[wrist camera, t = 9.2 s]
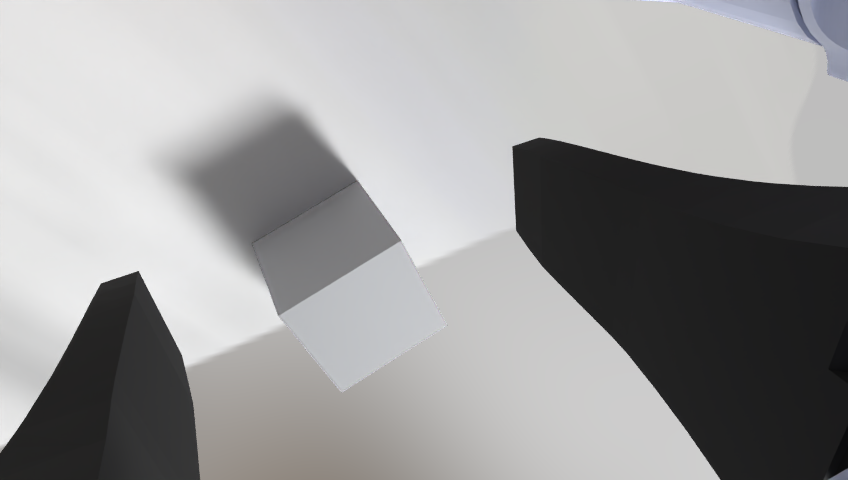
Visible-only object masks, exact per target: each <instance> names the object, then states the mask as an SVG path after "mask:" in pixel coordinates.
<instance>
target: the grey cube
mask: <svg viewBox="0 0 848 480" xmlns="http://www.w3.org/2000/svg"><path fill="white" fill-rule="evenodd" d="M252 245H253V247H254V250H255V253H256V256H257V258H258V261H259V264H260V267H261V270H262V272H263V275H264V278H265V281H266V283H267V286H268V289H269V292H270V294H271V297H272V300H273V303H274V305H275V308H276V311H277V314H278V316H279V317H280V319H281V320H282V321H283V322H284V323H285V325H286V326H287V327H288V328H289V330H290V331H291V332H292V333H293V334H294V336H295V337H296V338H297V339H298V340H299V342H300V343H301V344H302V345H303V347H304V348H305V349H306V350H307V351H308V352H309V354H310V355H311V356H312V357H313V359H314V360H315V361H316V362H317V363H318V365H319V366H320V367H321V368H322V370H323V371H324V372H325V373H326V375H327V376H328V377H329V378H330V379H331V380H332V382H333V383H334V384H335V386H336V387H337V388H338V389H339V390H340V392H343V391H345V390H346V389H348V388H349V387H351V386H353V385H354V384H356V383H357V382H359V381H361V380H362V379H364V378H365V377H367V376H369V375H370V374H372V373H373V372H375V371H377V370H378V369H380V368H381V367H383V366H384V365H386V364H388V363H389V362H391V361H392V360H394V359H395V358H397V357H399V356H400V355H402V354H403V353H405V352H406V351H408V350H410V349H411V348H413V347H414V346H416V345H418V344H419V343H421V342H422V341H424V340H425V339H427V338H429V337H430V336H432V335H433V334H435V333H436V332H438V331H440V330H441V329H443V328H444V327H446V326H448V325H447V323H446V321H445V319H444V318H443V316H442V314H441V312H440V310H439V308H438V307H437V305H436V303H435V302H434V299H433V298H432V296H431V294H430V292H429V290H428V289H427V287H426V285H425V283H424V281H423V279H422V277H421V276H420V274H419V272H418V270H417V268H416V266H415V265H414V263H413V261H412V259H411V257H410V255H409V254H408V252H407V250H406V248H405V246H404V244H403V243H402V241H401V239H400V238H399V237H398V235H397V234H396V232H395V231H394V230H393V228H392V227H391V226H390V224H389V223H388V221H387V220H386V219H385V217H384V216H383V215H382V213H381V212H380V210H379V209H378V208H377V206H376V205H375V204H374V202H373V201H372V199H371V198H370V197H369V195H368V194H367V193H366V191H365V190H364V189H363V187H362V186H361V184H360V183H359V182H358V181H356V182H354V183H353V184H351V185H349V186H348V187H346V188H344V189H343V190H341V191H339V192H338V193H336V194H334V195H333V196H331V197H329V198H328V199H326V200H324V201H323V202H321V203H319V204H318V205H316V206H314V207H312V208H311V209H309V210H307V211H306V212H304V213H302V214H301V215H299V216H297V217H296V218H294V219H292V220H291V221H289V222H287V223H286V224H284V225H282V226H281V227H279V228H277V229H276V230H274V231H272V232H271V233H269V234H267V235H266V236H264V237H262V238H261V239H259V240H257V241H256V242H254V243H252Z"/></svg>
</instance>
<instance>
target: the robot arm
mask: <svg viewBox="0 0 848 480" xmlns="http://www.w3.org/2000/svg"><path fill="white" fill-rule="evenodd" d="M643 1H662V2H678V3H681V4H685V5H688V6H691V7H695V8H698V9H701V10H705V11H708V12H711V13H714V14H718V15H721V16H724V17H728V18H731V19H734V20H738V21H741V22H744V23H747V24H751V25H754V26H757V27H761V28H764V29H767V30H771V31H774V32H777V33H780V34H784V35H787V36H790V37H794V38H797V39H800V40H804V41H807V42H810V43H813V44H817V45H820V46H823V47H824V49H825V52H826V54H827V60H828V64H827V73H828V75H830V76H833V77H835V78H839V79H841V80H844V81H847V82H848V0H643ZM513 169H514V191H515V214H516V231H517V232H518V234H519V235H520V236H521V238H522V239H523V241H524V242H525V244H526V245H527V247H528V248H529V249H530V251H531V252H532V253H533V255H534V256H535V257H536V258H537V260H538V261H539V263H540V264H541V265H542V266H543V267H544V269H545V270H546V271H547V272H548V273H549V274H550V275H551V276H552V277H553V278H554V279H555V280H556V281H557V282H558V283H559V284H560V285H561V286H562V287H563V288H564V289H565V290H566V291H567V292H568V293H569V294H570V295H571V296H572V297H573V298H574V299H575V300H576V301H577V302H578V303H579V304H580V305H581V306H582V307H583V308H584V309H585V310H586V311H587V312H588V313H589V314H590V315H591V316H592V317H593V318H594V319H595V320H596V321H597V322H598V323H599V324H600V325H601V326H602V327H603V328H604V329H605V330H606V331H607V332H608V333H609V334H610V335H611V336H612V337H613V338H614V339H615V341H617V343H618V344H619V345H620V346H621V347H622V348H623V349H624V350H625V351H626V353H627V354H628V355H629V356H630V358H631V359H632V360H633V361H634V362H635V364H636V365H637V366H638V368H639V369H640V370H641V371H642V373H643V374H644V375H645V376H646V378H647V379H648V380H649V381H650V382H651V384H652V385H653V386H654V387H655V389H656V390H657V392H658V393H659V394H660V396H661V397H662V398H663V400H664V401H665V402H666V404H667V405H668V406H669V408H670V409H671V410H672V412H673V413H674V414H675V416H676V417H677V418H678V419H679V421H680V422H681V424H682V425H683V426H684V428H685V429H686V430H687V432H688V433H689V435H690V436H691V438H692V439H693V441H694V442H695V443H696V445H697V446H698V448H699V449H700V451H701V452H702V453H703V455H704V456H705V457H706V459H707V461H708V462H709V464H710V465H711V466H712V468H713V469H714V471H715V472H716V474H717V475H718V477H719V478H720V480H848V187H829V186H806V185H790V184H774V183H764V182H753V181H745V180H738V179H730V178H723V177H715V176H709V175H703V174H697V173H692V172H687V171H682V170H677V169H672V168H667V167H662V166H658V165H653V164H649V163H645V162H641V161H636V160H632V159H628V158H624V157H620V156H616V155H613V154H609V153H605V152H601V151H597V150H593V149H590V148H586V147H582V146H578V145H574V144H570V143H565V142H561V141H557V140H551V139H545V138H537V139H534V140H531V141H528V142H525V143H522V144H519V145H516V146H513ZM0 480H200V474H199V463H198V451H197V440H196V429H195V418H194V408H193V401H192V397H191V392H190V388H189V383H188V380H187V375H186V371H185V366H184V362H183V358H182V355H181V353H180V351H179V349H178V347H177V345H176V343H175V341H174V339H173V337H172V335H171V333H170V331H169V329H168V327H167V325H166V324H165V322H164V320H163V318H162V316H161V314H160V312H159V310H158V308H157V306H156V304H155V302H154V300H153V298H152V296H151V294H150V292H149V291H148V289H147V287H146V285H145V283H144V281H143V279H142V277H141V275H140V273H139V271H137V272H134V273H131V274H128V275H125V276H122V277H119V278H116V279H113V280H110V281H107V282H104V283H101V285H100V286H99V288H98V290H97V292H96V294H95V296H94V297H93V299H92V301H91V303H90V305H89V307H88V309H87V311H86V313H85V315H84V317H83V319H82V321H81V323H80V324H79V326H78V328H77V330H76V332H75V334H74V336H73V338H72V340H71V342H70V344H69V345H68V347H67V349H66V351H65V353H64V354H63V356H62V358H61V360H60V362H59V363H58V365H57V367H56V369H55V371H54V372H53V374H52V376H51V378H50V379H49V381H48V383H47V384H46V386H45V387H44V389H43V390H42V392H41V394H40V395H39V397H38V398H37V400H36V402H35V403H34V405H33V406H32V408H31V410H30V411H29V413H28V414H27V416H26V418H25V419H24V421H23V422H22V424H21V425H20V426H19V428H18V429H17V431H16V432H15V434H14V435H13V436H12V438H11V439H10V441H9V442H8V443H7V445H6V446H5V448H4V449H3V450H2V452H1V453H0Z"/></svg>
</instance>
